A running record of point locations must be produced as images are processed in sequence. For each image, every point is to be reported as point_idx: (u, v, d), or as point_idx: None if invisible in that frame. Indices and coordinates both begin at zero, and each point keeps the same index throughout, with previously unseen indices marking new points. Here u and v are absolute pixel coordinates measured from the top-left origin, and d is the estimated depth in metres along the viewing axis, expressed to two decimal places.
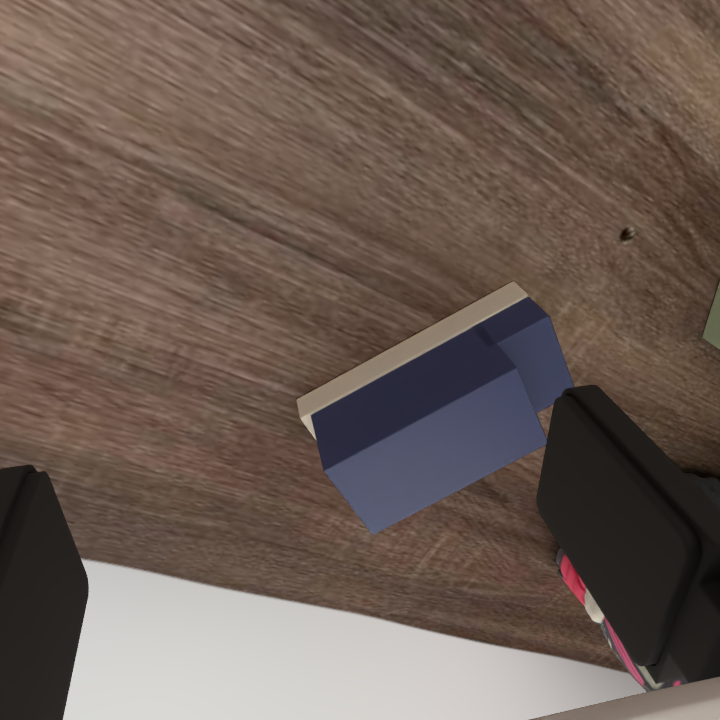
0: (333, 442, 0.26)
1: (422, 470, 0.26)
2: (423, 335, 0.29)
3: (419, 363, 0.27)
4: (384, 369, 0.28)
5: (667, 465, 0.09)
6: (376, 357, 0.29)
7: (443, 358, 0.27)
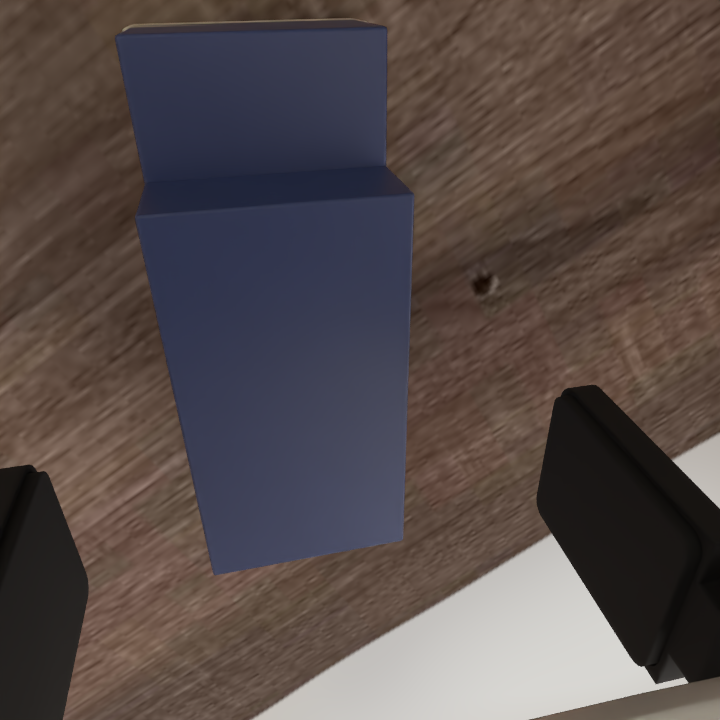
0: None
1: (312, 449, 0.13)
2: None
3: None
4: None
5: (667, 465, 0.09)
6: None
7: None
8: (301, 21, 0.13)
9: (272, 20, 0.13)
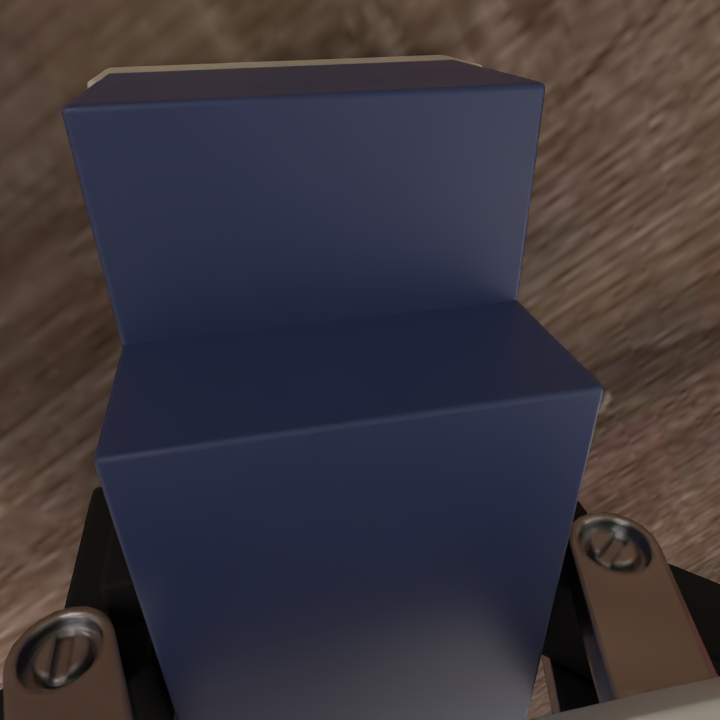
0: None
1: None
2: None
3: None
4: None
5: None
6: None
7: None
8: (374, 64, 0.08)
9: (325, 60, 0.09)
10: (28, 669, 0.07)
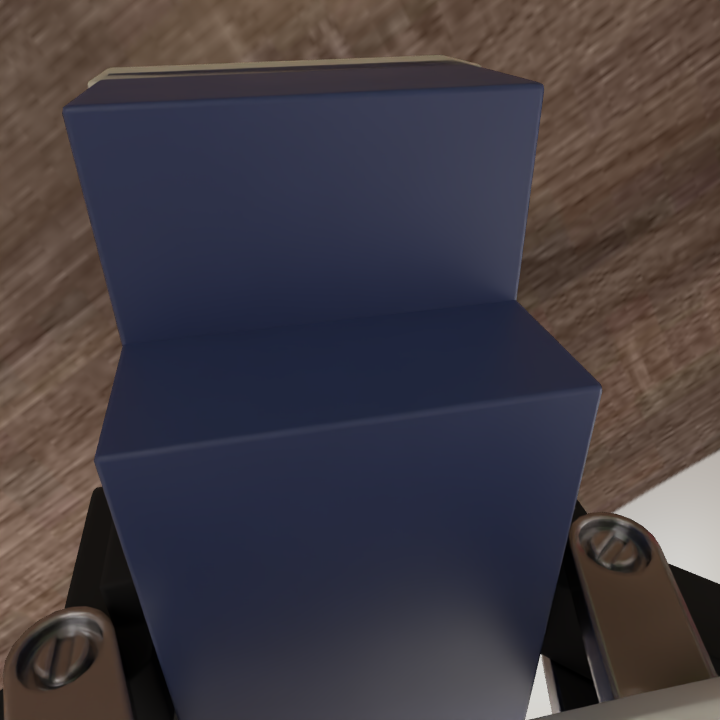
0: None
1: None
2: None
3: None
4: None
5: None
6: None
7: None
8: (373, 64, 0.08)
9: (325, 60, 0.09)
10: (28, 669, 0.07)
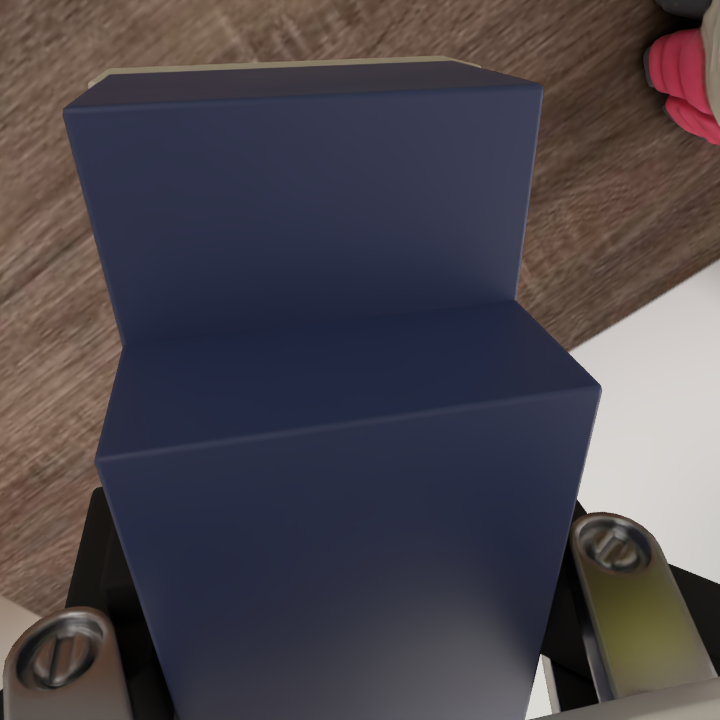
0: None
1: None
2: None
3: None
4: None
5: None
6: None
7: None
8: (373, 64, 0.08)
9: (325, 61, 0.09)
10: (28, 669, 0.07)
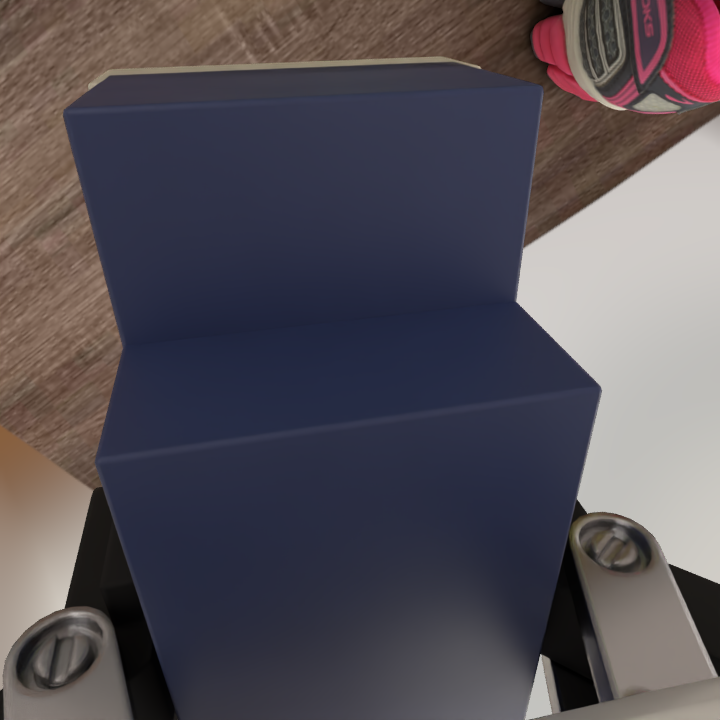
0: None
1: None
2: None
3: None
4: None
5: None
6: None
7: None
8: (374, 65, 0.08)
9: (325, 62, 0.09)
10: (28, 669, 0.07)
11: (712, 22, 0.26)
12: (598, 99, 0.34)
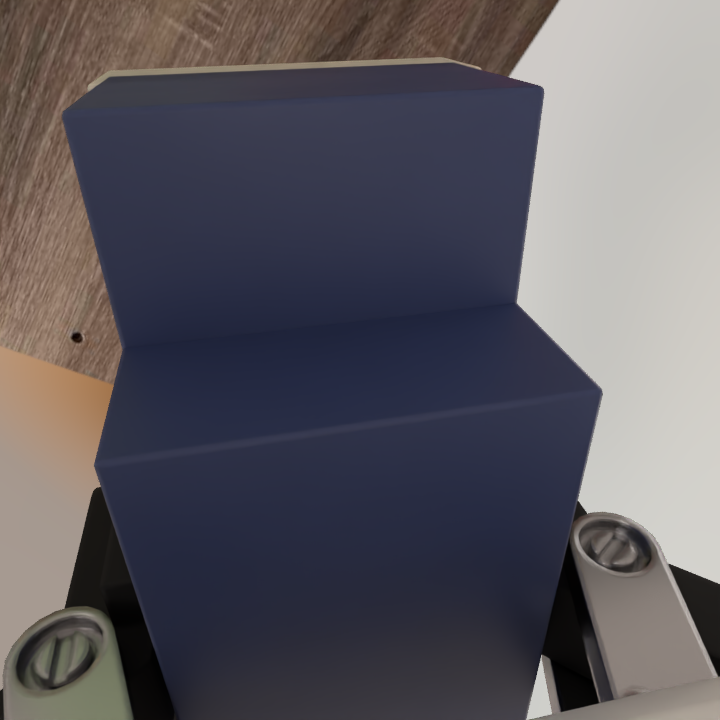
0: None
1: None
2: None
3: None
4: None
5: None
6: None
7: None
8: (374, 66, 0.08)
9: (325, 63, 0.09)
10: (28, 669, 0.07)
11: None
12: None
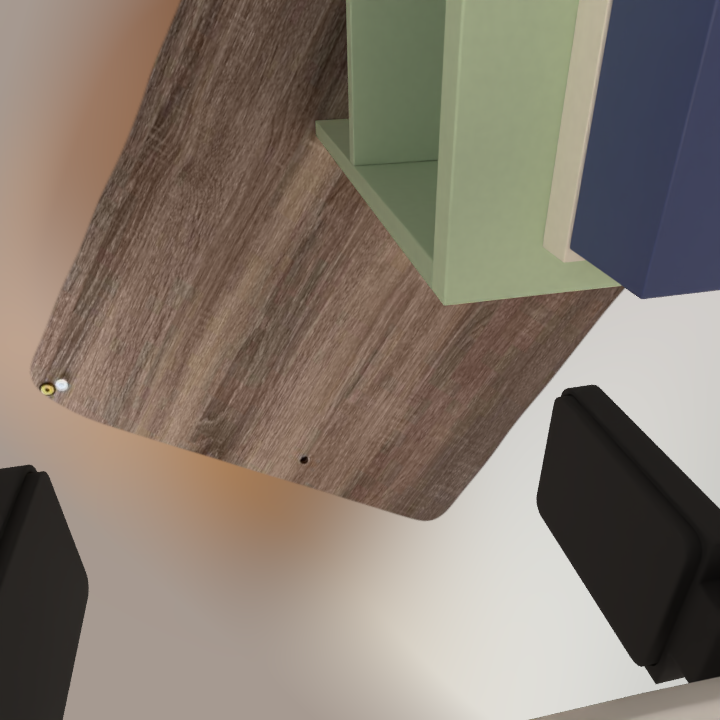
0: (619, 257, 0.17)
1: None
2: (582, 24, 0.17)
3: (612, 60, 0.16)
4: (584, 116, 0.18)
5: (667, 465, 0.09)
6: (564, 114, 0.19)
7: (632, 17, 0.15)
8: None
9: None
10: None
11: None
12: None
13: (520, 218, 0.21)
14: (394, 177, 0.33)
